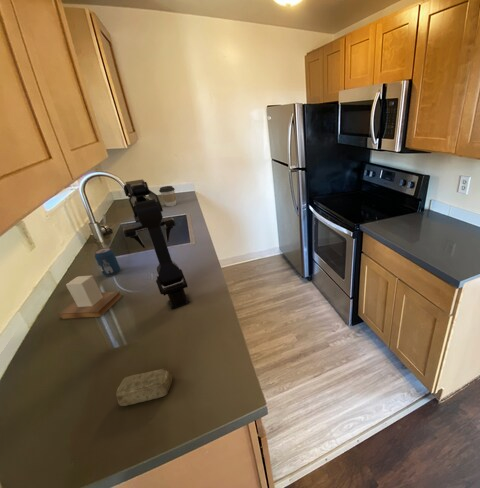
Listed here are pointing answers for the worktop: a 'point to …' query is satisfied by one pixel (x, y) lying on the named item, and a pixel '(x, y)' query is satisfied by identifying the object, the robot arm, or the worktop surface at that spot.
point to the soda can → (107, 261)
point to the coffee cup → (168, 195)
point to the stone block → (144, 387)
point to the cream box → (84, 291)
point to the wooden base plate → (91, 307)
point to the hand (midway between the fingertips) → (156, 244)
